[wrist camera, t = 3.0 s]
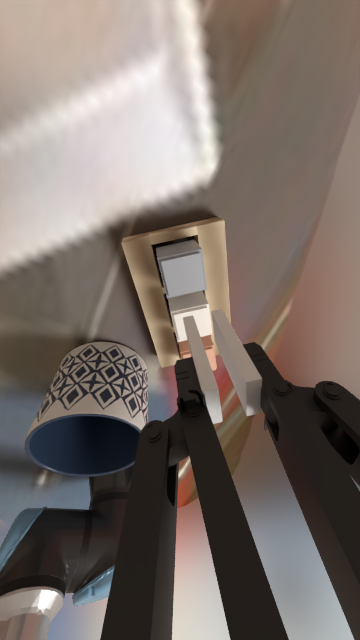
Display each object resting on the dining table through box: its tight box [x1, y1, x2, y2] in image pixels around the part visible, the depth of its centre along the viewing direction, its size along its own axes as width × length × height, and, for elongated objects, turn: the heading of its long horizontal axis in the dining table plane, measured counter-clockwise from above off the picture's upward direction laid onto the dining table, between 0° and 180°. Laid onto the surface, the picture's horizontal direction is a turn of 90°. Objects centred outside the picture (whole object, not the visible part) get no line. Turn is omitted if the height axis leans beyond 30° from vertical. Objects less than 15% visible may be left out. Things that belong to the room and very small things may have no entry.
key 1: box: [178, 335, 217, 370], centre depth 35 cm, size 5×5×5 cm
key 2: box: [156, 240, 207, 298], centre depth 27 cm, size 5×5×5 cm
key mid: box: [168, 291, 212, 342], centre depth 31 cm, size 5×5×5 cm
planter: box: [25, 342, 148, 477], centre depth 36 cm, size 16×16×14 cm
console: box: [121, 217, 231, 367], centre depth 34 cm, size 13×22×3 cm, turn 11°
